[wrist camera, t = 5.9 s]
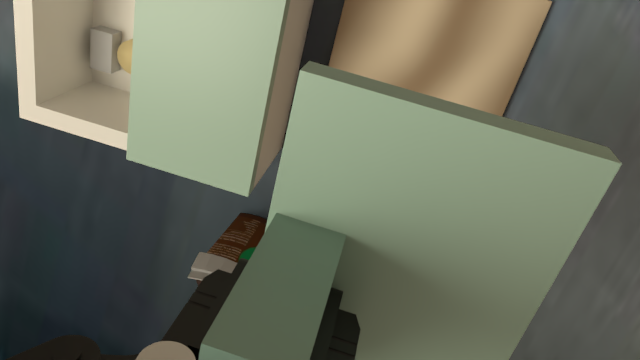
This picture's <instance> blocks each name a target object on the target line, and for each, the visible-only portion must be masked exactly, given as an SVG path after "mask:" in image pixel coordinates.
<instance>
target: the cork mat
mask: <svg viewBox="0 0 640 360" xmlns="http://www.w3.org/2000/svg"><path fill="white" fill-rule="evenodd" d="M551 4H552V1H549V0H345V2H344V6H343V10H342V14H341V18H340V22H339V26H338V30H337V34H336V38H335V42H334V46H333V50H332V54H331V58H330V62H329V67H332V68H336V69H339V70H343V71H346V72H350V73H353V74H357V75H360V76H364V77H367V78H370V79H374V80H377V81H381V82H384V83H388V84H391V85H395V86H398V87H402V88H405V89H408V90H412V91H415V92H419V93H422V94H426V95H429V96H433V97H436V98H439V99H443V100H446V101H450V102H453V103H457V104H460V105H464V106H467V107H471V108H474V109H477V110H481V111H484V112H488V113H491V114H495V115H498V116H502V115H503V113H504V111H505V109H506V106H507V104H508V102H509V99H510V97H511V95H512V93H513V90H514V88H515V86H516V83H517V81H518V79H519V77H520V74H521V72H522V70H523V68H524V65H525V63H526V61H527V58H528V56H529V54H530V52H531V49H532V47H533V45H534V42H535V40H536V38H537V36H538V33H539V31H540V29H541V26H542V24H543V22H544V20H545V17H546V15H547V13H548V10H549V8H550V6H551Z"/></svg>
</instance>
